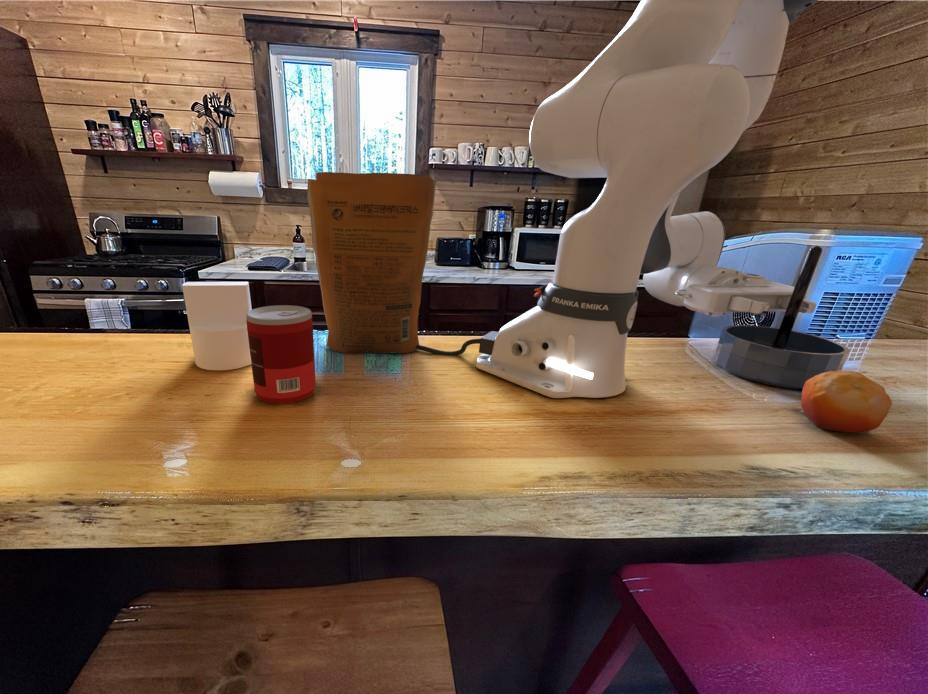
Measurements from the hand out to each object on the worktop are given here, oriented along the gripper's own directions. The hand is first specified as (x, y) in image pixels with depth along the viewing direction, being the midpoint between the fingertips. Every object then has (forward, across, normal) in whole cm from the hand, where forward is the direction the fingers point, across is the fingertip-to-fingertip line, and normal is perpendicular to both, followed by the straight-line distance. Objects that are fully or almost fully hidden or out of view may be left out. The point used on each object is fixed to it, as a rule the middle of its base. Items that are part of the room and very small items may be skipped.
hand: (788, 308), depth 69 cm
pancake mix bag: (-18, -64, +11) cm, 67 cm away
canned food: (-2, -78, +11) cm, 79 cm away
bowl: (+1, 0, +11) cm, 11 cm away
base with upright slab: (-16, -88, +11) cm, 90 cm away
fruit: (+18, -11, +11) cm, 23 cm away
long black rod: (+1, 0, +10) cm, 10 cm away
